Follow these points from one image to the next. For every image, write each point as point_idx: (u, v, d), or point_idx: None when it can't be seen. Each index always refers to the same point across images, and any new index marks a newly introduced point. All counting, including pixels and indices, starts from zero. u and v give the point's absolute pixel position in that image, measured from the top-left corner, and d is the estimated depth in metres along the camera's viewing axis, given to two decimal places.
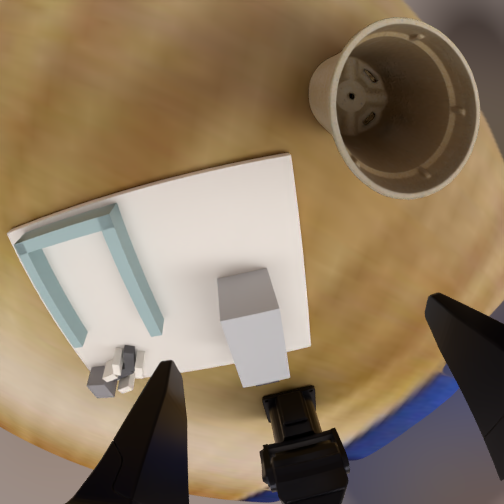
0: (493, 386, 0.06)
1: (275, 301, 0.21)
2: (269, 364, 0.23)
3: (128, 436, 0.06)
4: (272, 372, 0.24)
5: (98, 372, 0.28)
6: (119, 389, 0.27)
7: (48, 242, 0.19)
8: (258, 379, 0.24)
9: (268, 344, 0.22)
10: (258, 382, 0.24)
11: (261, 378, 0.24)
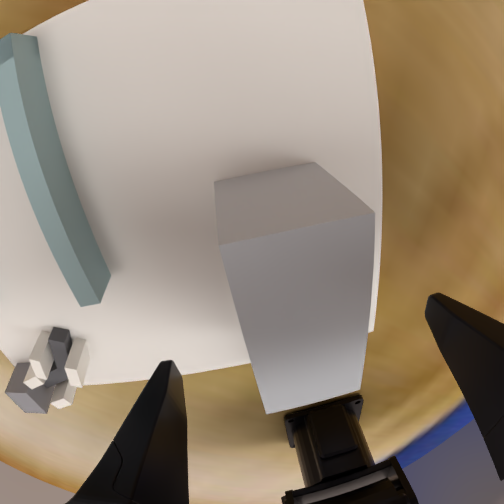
0: (493, 386, 0.06)
1: (358, 201, 0.08)
2: (327, 365, 0.10)
3: (128, 436, 0.06)
4: (330, 381, 0.11)
5: (23, 372, 0.15)
6: (52, 402, 0.14)
7: None
8: (299, 397, 0.11)
9: (333, 318, 0.09)
10: (298, 402, 0.11)
11: (305, 396, 0.11)
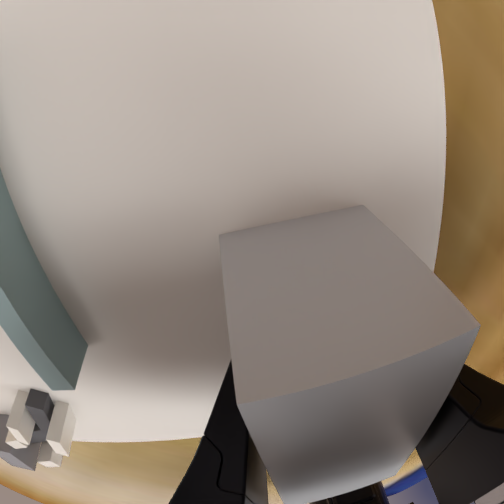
0: None
1: (451, 298, 0.05)
2: (366, 471, 0.07)
3: (222, 428, 0.06)
4: (366, 478, 0.07)
5: (5, 426, 0.11)
6: (39, 461, 0.11)
7: None
8: (326, 494, 0.08)
9: (388, 439, 0.06)
10: (325, 496, 0.08)
11: (334, 492, 0.08)
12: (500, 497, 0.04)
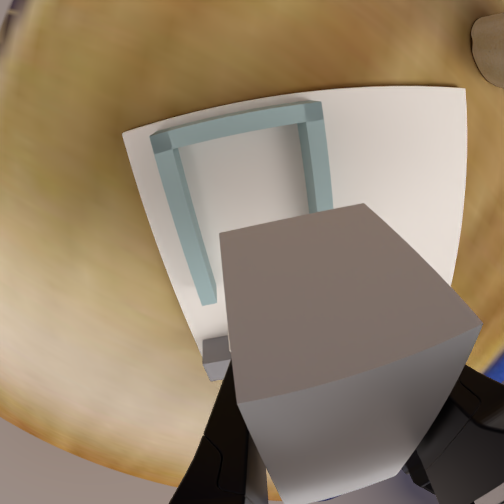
0: None
1: (452, 297, 0.05)
2: (366, 471, 0.07)
3: (222, 428, 0.06)
4: (366, 479, 0.07)
5: (216, 345, 0.23)
6: None
7: (217, 132, 0.15)
8: (327, 494, 0.08)
9: (389, 438, 0.06)
10: (325, 497, 0.08)
11: (334, 492, 0.08)
12: (500, 497, 0.04)
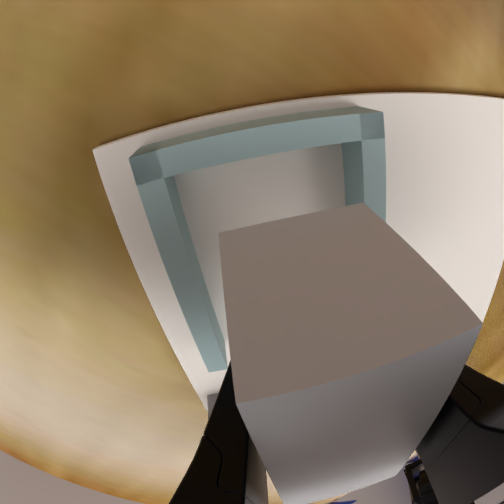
0: None
1: (452, 296, 0.05)
2: (366, 471, 0.07)
3: (222, 428, 0.06)
4: (366, 479, 0.07)
5: None
6: None
7: (232, 153, 0.10)
8: (327, 494, 0.08)
9: (388, 439, 0.06)
10: (325, 497, 0.08)
11: (334, 492, 0.08)
12: (500, 497, 0.04)
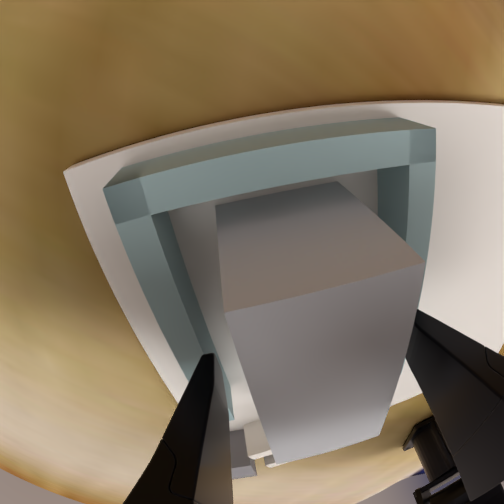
0: (460, 405, 0.06)
1: (401, 243, 0.06)
2: (347, 420, 0.08)
3: (179, 433, 0.06)
4: (349, 433, 0.09)
5: None
6: (268, 464, 0.16)
7: (244, 181, 0.07)
8: (313, 449, 0.09)
9: (361, 378, 0.07)
10: (312, 452, 0.09)
11: (320, 447, 0.09)
12: None
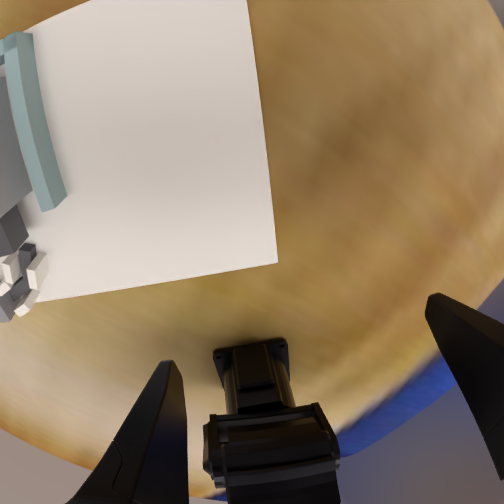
0: (493, 386, 0.06)
1: None
2: None
3: (128, 436, 0.06)
4: None
5: None
6: (15, 310, 0.18)
7: None
8: None
9: None
10: None
11: None
12: None
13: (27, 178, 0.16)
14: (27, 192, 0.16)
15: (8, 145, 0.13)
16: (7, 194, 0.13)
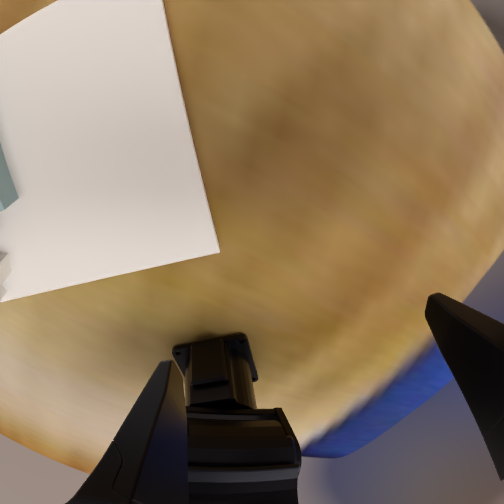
0: (493, 386, 0.06)
1: None
2: None
3: (128, 436, 0.06)
4: None
5: None
6: None
7: None
8: None
9: None
10: None
11: None
12: None
13: None
14: None
15: None
16: None
